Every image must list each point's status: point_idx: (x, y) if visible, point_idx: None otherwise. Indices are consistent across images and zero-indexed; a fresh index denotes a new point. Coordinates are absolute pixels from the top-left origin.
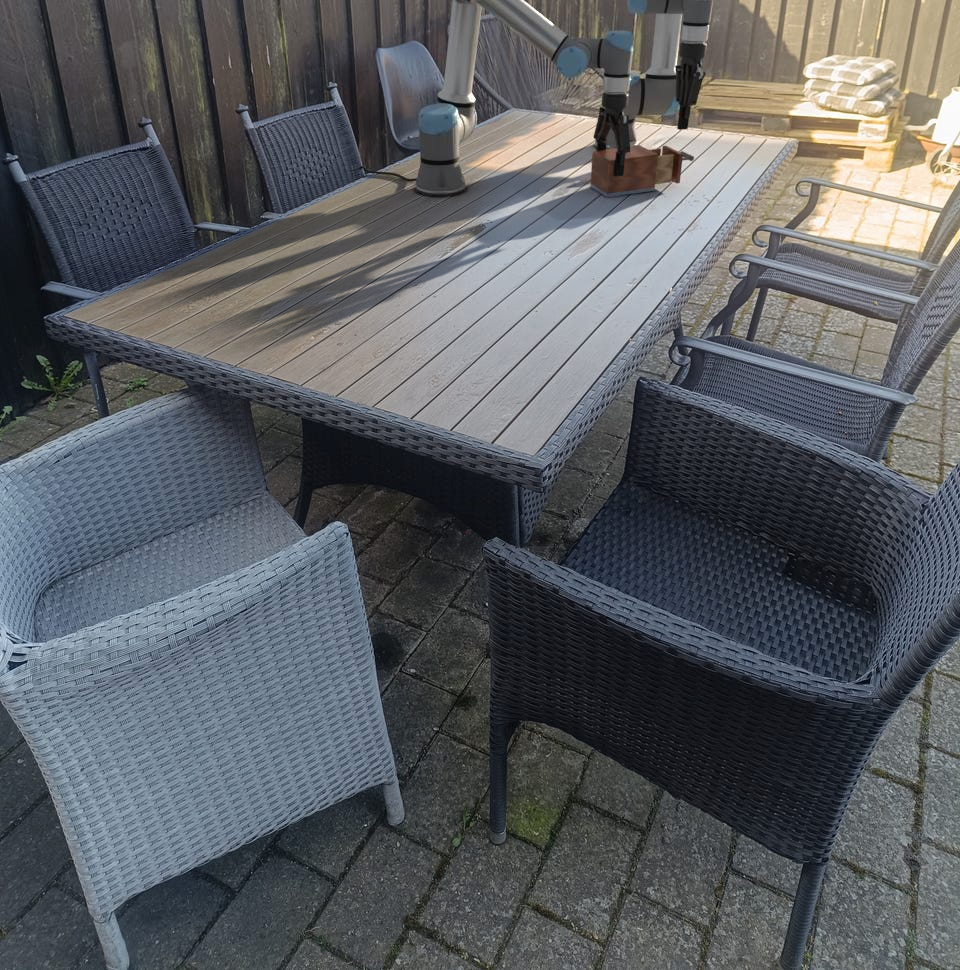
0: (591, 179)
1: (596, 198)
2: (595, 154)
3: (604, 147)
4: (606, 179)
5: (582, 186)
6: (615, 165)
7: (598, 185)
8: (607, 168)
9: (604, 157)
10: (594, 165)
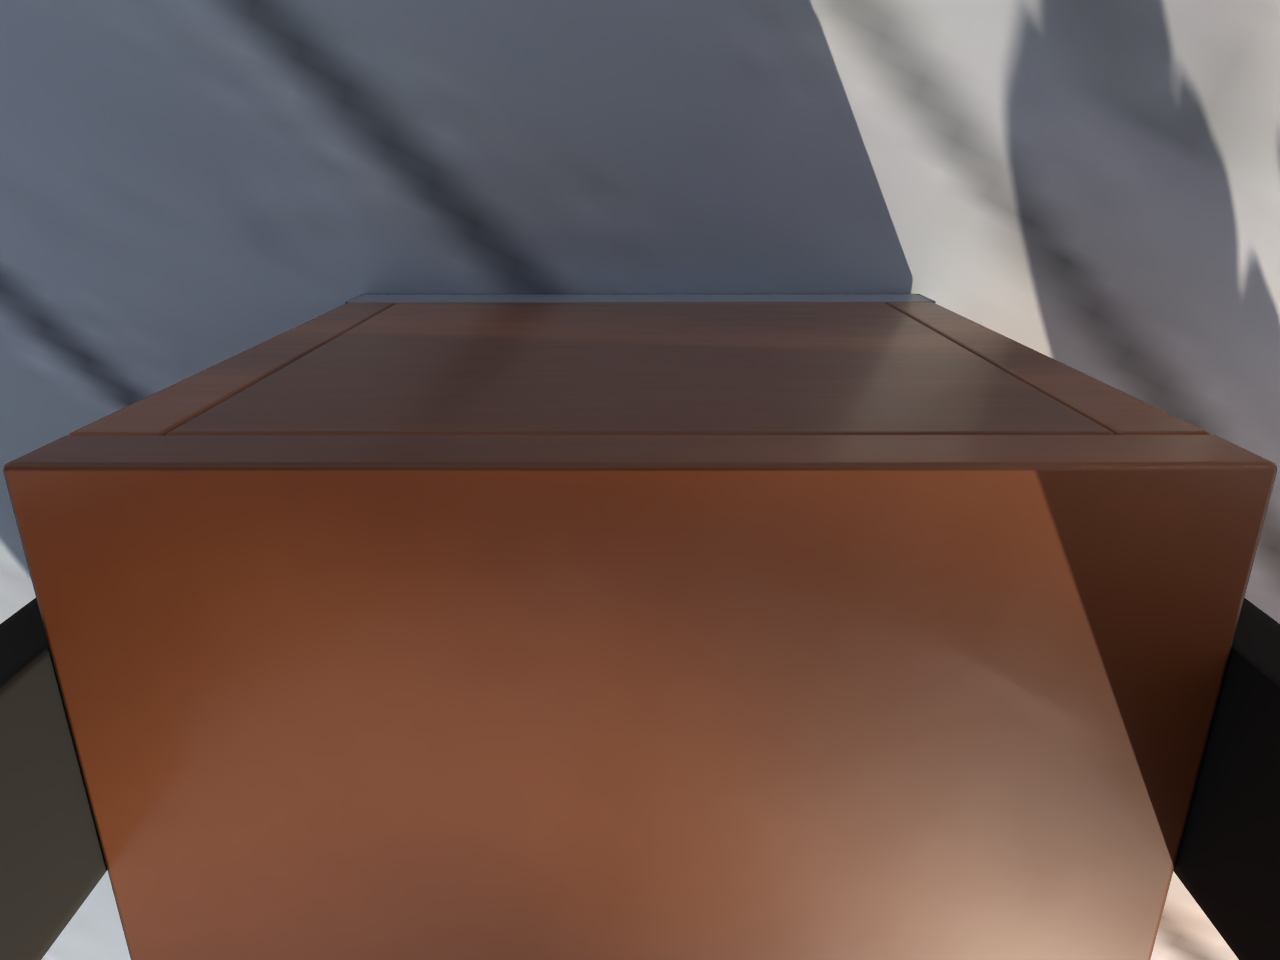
0: (932, 312)
1: (358, 111)
2: (1015, 446)
3: (1224, 880)
4: (343, 341)
5: (1006, 191)
6: None
7: (662, 310)
8: (242, 395)
9: (399, 476)
10: (930, 368)
